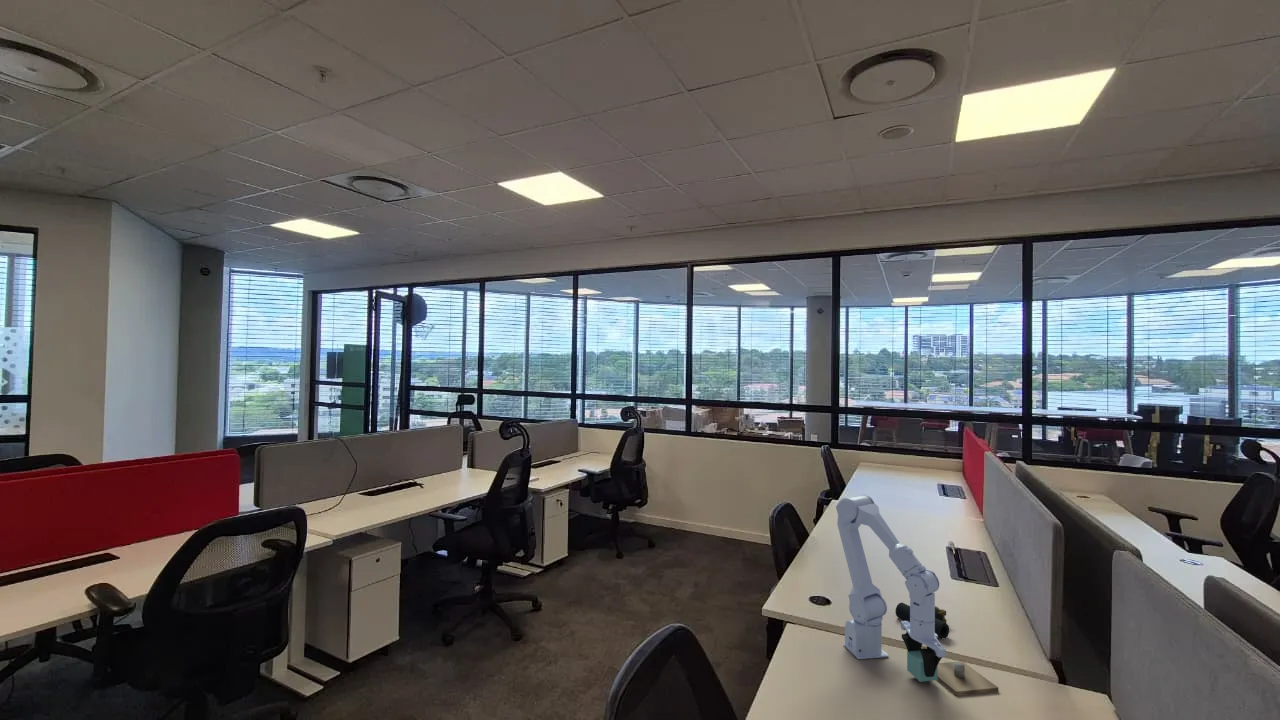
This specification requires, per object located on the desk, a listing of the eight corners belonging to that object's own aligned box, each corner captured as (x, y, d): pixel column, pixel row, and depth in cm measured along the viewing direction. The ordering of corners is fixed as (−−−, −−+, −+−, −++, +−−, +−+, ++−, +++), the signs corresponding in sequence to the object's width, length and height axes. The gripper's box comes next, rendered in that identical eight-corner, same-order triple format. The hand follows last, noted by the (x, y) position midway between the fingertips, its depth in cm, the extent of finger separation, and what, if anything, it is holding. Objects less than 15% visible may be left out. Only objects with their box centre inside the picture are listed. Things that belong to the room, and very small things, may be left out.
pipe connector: (919, 597, 174) (962, 616, 160) (919, 612, 174) (963, 633, 160) (895, 603, 169) (938, 624, 155) (895, 619, 169) (938, 642, 155)
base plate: (956, 695, 129) (956, 679, 129) (923, 668, 141) (922, 653, 141) (998, 691, 131) (998, 675, 131) (962, 664, 142) (962, 650, 142)
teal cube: (920, 681, 132) (920, 662, 132) (907, 670, 137) (907, 651, 137) (937, 680, 133) (937, 660, 133) (924, 668, 138) (924, 650, 138)
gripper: (956, 630, 129) (956, 685, 129) (917, 604, 143) (917, 653, 143) (931, 632, 128) (931, 687, 128) (894, 605, 142) (894, 655, 142)
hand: (922, 669), depth 135 cm, fingers closed on teal cube, 5 cm apart
